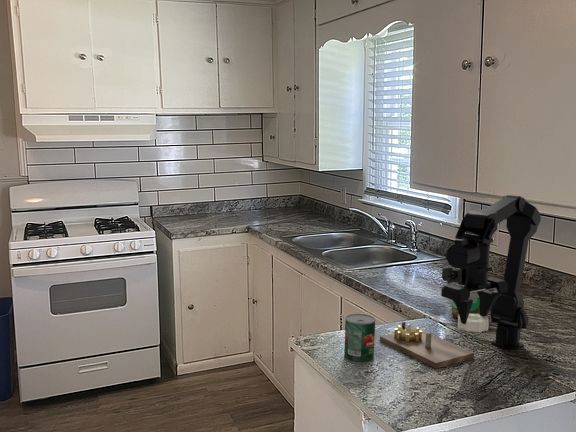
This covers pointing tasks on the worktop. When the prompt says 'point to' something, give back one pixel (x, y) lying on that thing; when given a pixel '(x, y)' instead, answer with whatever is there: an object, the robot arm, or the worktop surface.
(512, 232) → the robot arm
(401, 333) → the gear
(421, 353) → the gear board
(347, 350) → the canned tomato
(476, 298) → the food container
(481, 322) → the loose gear
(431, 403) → the worktop surface
